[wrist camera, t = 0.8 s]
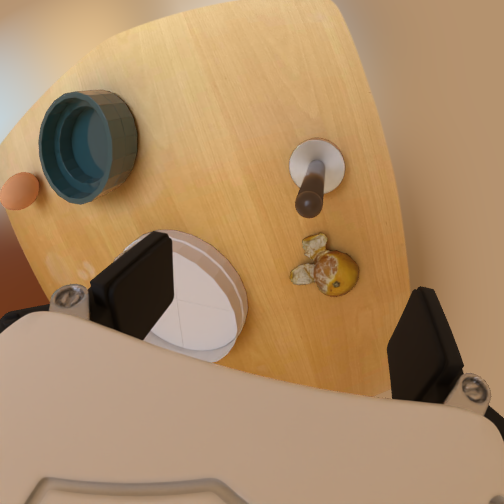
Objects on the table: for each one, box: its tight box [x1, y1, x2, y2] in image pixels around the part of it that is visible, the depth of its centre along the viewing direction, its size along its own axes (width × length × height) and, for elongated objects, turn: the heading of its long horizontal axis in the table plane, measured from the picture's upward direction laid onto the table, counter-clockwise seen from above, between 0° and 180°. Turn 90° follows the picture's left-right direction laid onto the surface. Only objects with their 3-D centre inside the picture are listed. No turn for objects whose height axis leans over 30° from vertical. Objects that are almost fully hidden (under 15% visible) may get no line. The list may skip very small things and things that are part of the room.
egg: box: [0, 172, 39, 210], centre depth 40 cm, size 7×7×9 cm
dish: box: [113, 230, 248, 363], centre depth 44 cm, size 22×22×5 cm
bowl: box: [39, 90, 137, 205], centre depth 35 cm, size 16×16×6 cm
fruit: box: [290, 233, 359, 297], centre depth 36 cm, size 8×8×4 cm
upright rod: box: [289, 138, 345, 218], centre depth 25 cm, size 6×6×16 cm
